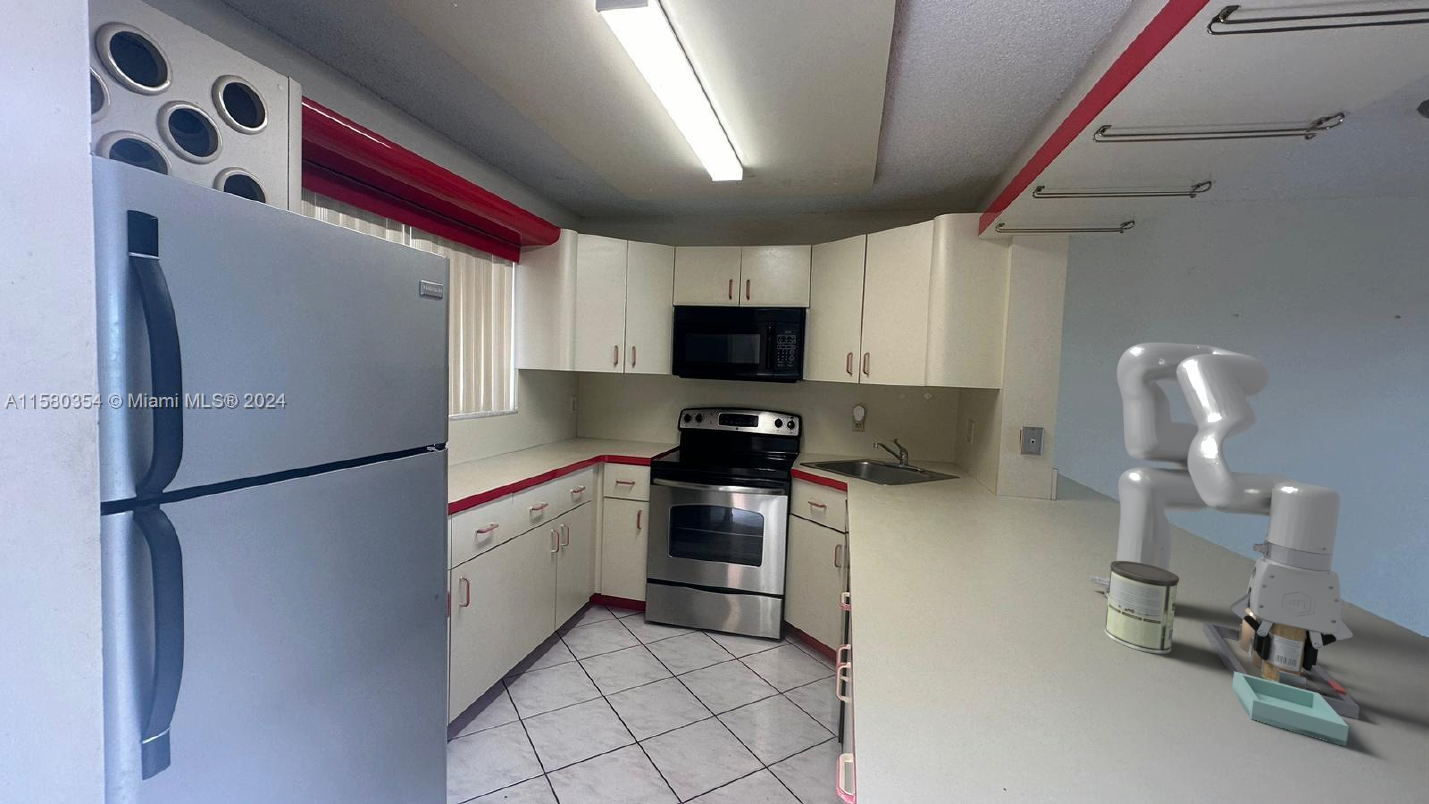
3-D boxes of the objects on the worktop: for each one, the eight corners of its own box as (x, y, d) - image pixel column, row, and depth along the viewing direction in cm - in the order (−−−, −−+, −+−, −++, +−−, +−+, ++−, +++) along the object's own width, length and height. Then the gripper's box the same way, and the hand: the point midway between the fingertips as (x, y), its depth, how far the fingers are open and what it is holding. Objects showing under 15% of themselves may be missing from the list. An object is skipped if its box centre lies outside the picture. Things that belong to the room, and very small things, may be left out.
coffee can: (1098, 622, 109) (1104, 556, 108) (1160, 635, 104) (1167, 567, 104) (1111, 645, 99) (1118, 572, 99) (1180, 660, 95) (1188, 584, 94)
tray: (1251, 719, 78) (1253, 700, 78) (1232, 688, 87) (1234, 671, 86) (1346, 747, 73) (1348, 726, 73) (1316, 711, 81) (1318, 693, 81)
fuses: (1255, 667, 94) (1260, 619, 93) (1236, 642, 103) (1241, 598, 103) (1288, 676, 92) (1294, 626, 91) (1265, 649, 101) (1271, 604, 101)
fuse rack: (1239, 687, 87) (1241, 667, 87) (1202, 631, 108) (1204, 614, 108) (1357, 719, 80) (1360, 697, 80) (1294, 652, 101) (1296, 634, 100)
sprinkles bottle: (1302, 685, 88) (1313, 609, 87) (1296, 693, 86) (1307, 614, 85) (1263, 671, 92) (1273, 598, 91) (1257, 679, 90) (1267, 603, 89)
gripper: (1234, 551, 89) (1221, 654, 90) (1386, 577, 80) (1369, 691, 81) (1222, 540, 95) (1210, 636, 96) (1361, 563, 86) (1345, 669, 87)
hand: (1282, 660), depth 89 cm, fingers closed on sprinkles bottle, 4 cm apart
